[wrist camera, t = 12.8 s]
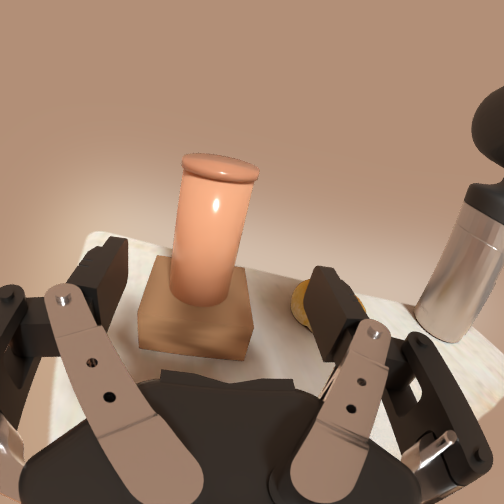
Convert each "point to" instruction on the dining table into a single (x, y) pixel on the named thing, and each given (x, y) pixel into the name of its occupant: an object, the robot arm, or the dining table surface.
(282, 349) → the dining table surface
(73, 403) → the dining table surface
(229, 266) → the jar
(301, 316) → the bread roll
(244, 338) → the plinth
